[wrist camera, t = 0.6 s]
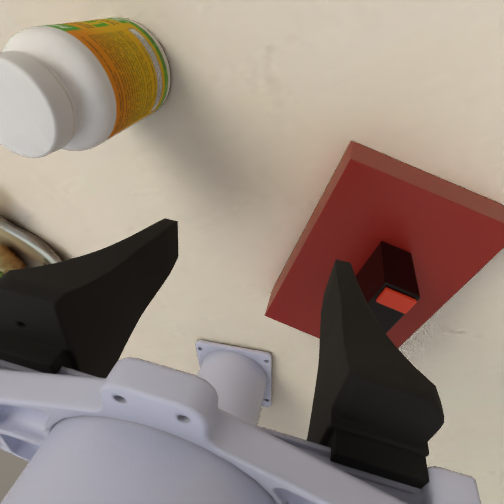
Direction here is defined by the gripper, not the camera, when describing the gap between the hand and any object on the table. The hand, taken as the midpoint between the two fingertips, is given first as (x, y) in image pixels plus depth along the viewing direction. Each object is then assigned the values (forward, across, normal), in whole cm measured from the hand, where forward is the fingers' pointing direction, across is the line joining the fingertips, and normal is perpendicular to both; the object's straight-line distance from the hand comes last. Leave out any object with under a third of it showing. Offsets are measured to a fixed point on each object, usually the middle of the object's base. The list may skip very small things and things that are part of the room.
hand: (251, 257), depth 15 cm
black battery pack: (+7, -7, +5) cm, 11 cm away
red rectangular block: (+10, -7, +5) cm, 13 cm away
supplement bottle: (+10, +11, -4) cm, 15 cm away
